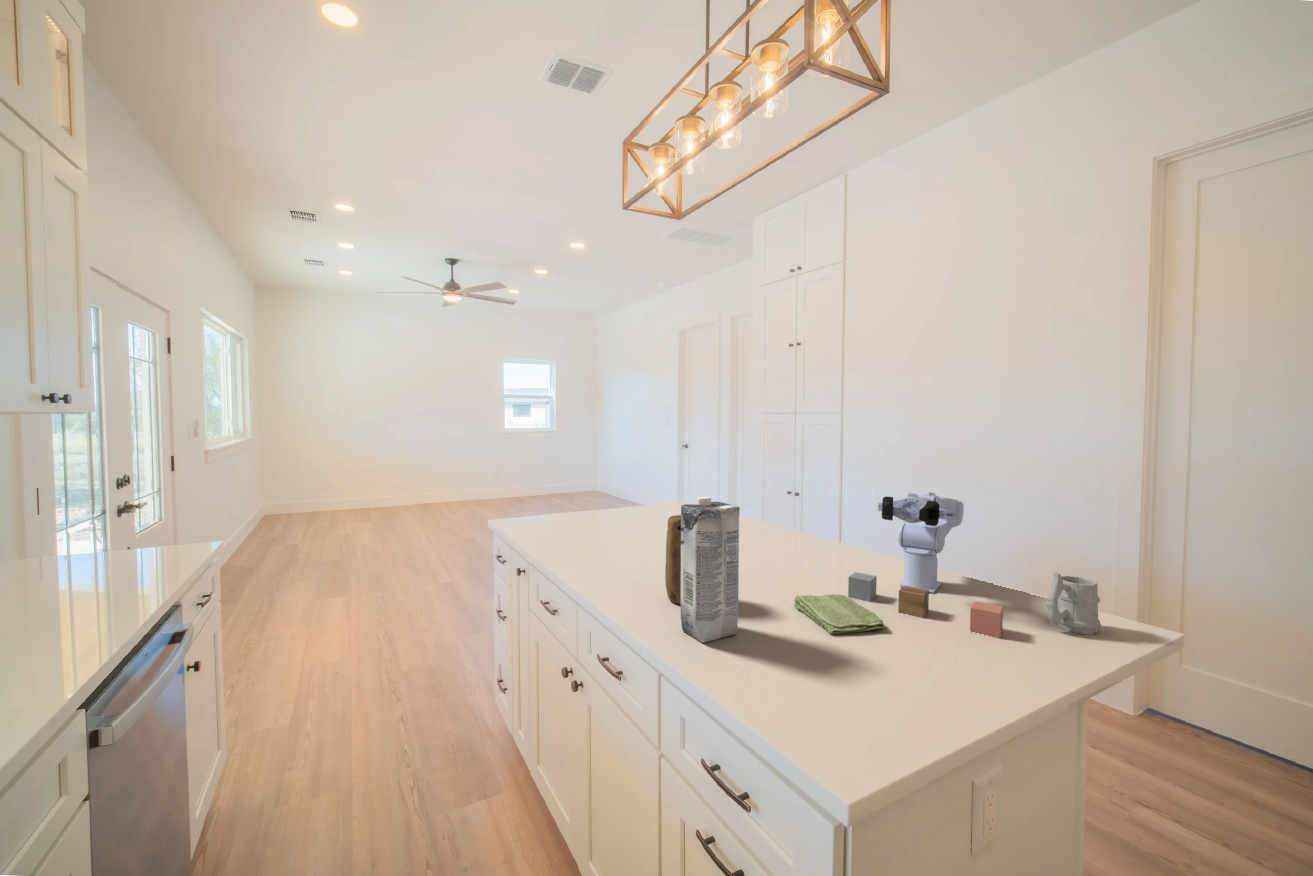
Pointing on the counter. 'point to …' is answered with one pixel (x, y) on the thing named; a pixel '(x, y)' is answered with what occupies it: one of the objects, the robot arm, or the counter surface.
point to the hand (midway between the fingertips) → (902, 512)
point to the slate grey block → (862, 586)
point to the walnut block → (913, 601)
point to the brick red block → (986, 619)
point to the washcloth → (838, 613)
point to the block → (673, 559)
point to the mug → (1073, 604)
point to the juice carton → (709, 569)
